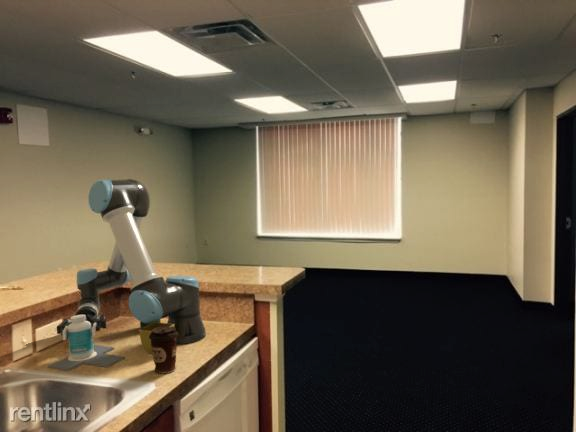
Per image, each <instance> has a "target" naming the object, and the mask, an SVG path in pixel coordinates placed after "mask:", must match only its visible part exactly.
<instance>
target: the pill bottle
mask: <svg viewBox="0 0 576 432" xmlns="http://www.w3.org/2000/svg"><path fill="white" fill-rule="evenodd" d="M70 320H71V322H72V323H71V324H70V325H69V326H68V327H67V332H68V336H67V341H68V346H69V347H68V348H69V349H68V350H69V356H71V358H74V359H80V358H85V357H88V356H90V355H92V354H93V353H94V347H93V345H94V340H93V334H92V327H91V323H90V322H89V321H86V315H76V316H75V315H72V316H71V317H70Z"/></svg>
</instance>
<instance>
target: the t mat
mask: <svg viewBox="0 0 576 432" xmlns="http://www.w3.org/2000/svg"><path fill="white" fill-rule="evenodd" d="M93 347H94V353H93V354H92V355H90V356H88V357H85V358H80V359H74V358H71V356H70V355H68V356H66V357H64V358H62V359H59V360H57V361H54V362H53V363H50V364H48V365H47V368H49V369H54V370H55V369H56V370H61V371H67V372H69V371H71V370H74V369H75V368H78V367H80V366H82V365H89V366H96V367H101V368H109V367H111V366H112V365H113V366H114V365H115V364H117V363H119V362H120V361H122V360H124V359H125V358H126V357H125V356H124V355H123V356H122V355H115V354H108V352H112V351H113V350H115V347H114V346H107V345H101V344H93Z"/></svg>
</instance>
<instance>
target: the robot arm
mask: <svg viewBox="0 0 576 432" xmlns="http://www.w3.org/2000/svg"><path fill="white" fill-rule="evenodd" d="M87 199H88V205H89V208H90V209H91V211H92V212H94V213H95V214H100V215H101V218H102V221H104V222H106V223H108V224H109V228H110V229H111V232H112V234H113V236H114V239H115V243H114V247H113V250H112V253H111V256H110V260H109V264H108V266H107V269H106V270H102V271H98V269H96V268H86V269H85V268H84V269H80V270H78V271H77V272H76V287H77V290H78V289H79V290H81V292H82V293H81V297H82V299H81V300H80V301H78V300H77V302H78V308H77V310H76V313H75V315H74V316H76V315H86V321H89V322H90V323H91V328H92V337H96V334H97V332H100V330H102V329H107V320H106V319H105V318H106V317H105V314H101V315H99V313H100V310H101V302H100V293H99V292H101V291H105V290H109V289H113V288H117V287H122V286H124V285H127V284H128V283H130V281H131V282H132V285H131V287H130V289H129V290H130V292H131V293H130V295H129V298H128V308H129V311H130V313H131V314H132V316H133V317H134V318H135V319H136V320H137V321H139V322H140V321H141V322H144V323H149V322H153V321H158V320H160V321H161V319H164V318H167V319H168V320H167V323H168V324H174V328H175V331H177V332H178V337H177V342H176V345H183V344H189V343H190V344H191V343H196V342H199V341H201V340H203V339H204V338H206V336H207V333H206V332H207V331H206V327H205V325H204V322H203V319H202V317H201V308H200V287H199V286H200V285H199V280H198V279H197V277H194V276H188V275H187V276H186V275H172V276H168V277H166V279H164V277H163V275H160V274H158V273H157V271H156V269H155V266H154V264H153V262H152V261H153V260H152V259H151V257H150V256H151V255H150V254H149V252H148V249H147V247H146V244H145V241H144V239H143V237H142V234H141V232H140V230H141V227H142V223H143V221H144V218H146V217H147V216H148V213H149V210H150V204H151V202H150V194H149V191H148V189H147V187H146V186H145V184H143V183H142V182H141V181H138V180H137V179H132V178H127V179H108V178H107V179H101V180H97V181H95V182H94V183H93V184H92V185H91V187H90V189H89V193H88V198H87ZM71 323H72V322H71V319H68V318H63V321H61V322H60V323H59V324H58V325H56V334H57V335H61V336H62V340H63V341H66V339H68V332H67V327H68V326H69V325H70V324H71ZM101 328H102V329H101Z"/></svg>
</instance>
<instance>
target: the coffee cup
mask: <svg viewBox="0 0 576 432" xmlns="http://www.w3.org/2000/svg"><path fill="white" fill-rule="evenodd" d="M151 331H152V332H151V334H150V335H149V339H151V348H152V354H151V355H152V359H153V362H154V365H155V367H154V372H155V373H157V374H158V373H159V374H170V373H172V372H174V371H176V370H177V367H176V362H177V361H176V359H177V349H178V348H177V347H178V344H176V342H177V337H178V332H177V331H175V328H174V327H157V328H154V329H152V330H151Z"/></svg>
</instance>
